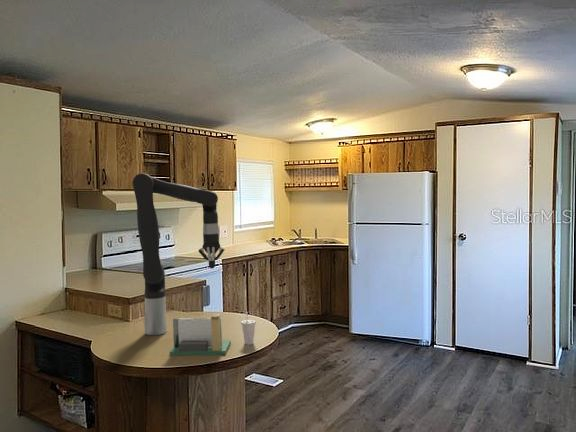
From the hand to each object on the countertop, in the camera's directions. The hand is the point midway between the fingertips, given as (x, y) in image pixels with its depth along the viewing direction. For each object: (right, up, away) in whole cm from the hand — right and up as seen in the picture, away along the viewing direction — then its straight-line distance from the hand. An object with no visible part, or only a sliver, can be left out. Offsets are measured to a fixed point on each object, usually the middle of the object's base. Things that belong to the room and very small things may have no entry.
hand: (212, 268), depth 237 cm
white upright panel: (-1, -29, -33) cm, 44 cm away
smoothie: (+20, -30, -24) cm, 43 cm away
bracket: (0, -31, -30) cm, 43 cm away
